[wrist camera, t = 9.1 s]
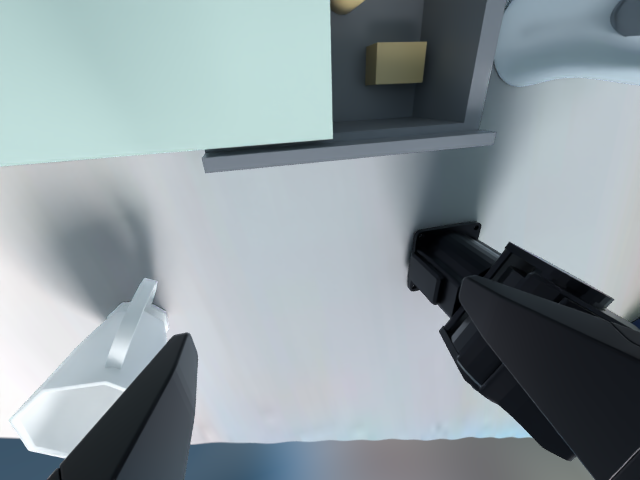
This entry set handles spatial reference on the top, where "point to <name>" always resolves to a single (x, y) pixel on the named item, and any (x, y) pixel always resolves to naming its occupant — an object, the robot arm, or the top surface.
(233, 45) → the lid
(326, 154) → the tub
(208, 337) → the top surface
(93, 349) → the cup
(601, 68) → the beer glass
